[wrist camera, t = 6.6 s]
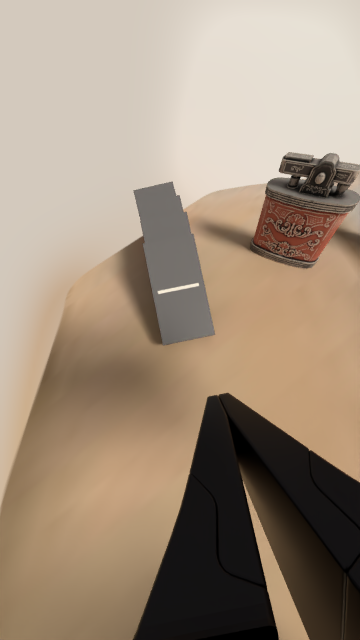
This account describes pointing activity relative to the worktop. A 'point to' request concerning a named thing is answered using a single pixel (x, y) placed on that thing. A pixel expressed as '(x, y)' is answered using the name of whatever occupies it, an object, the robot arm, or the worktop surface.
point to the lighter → (304, 208)
